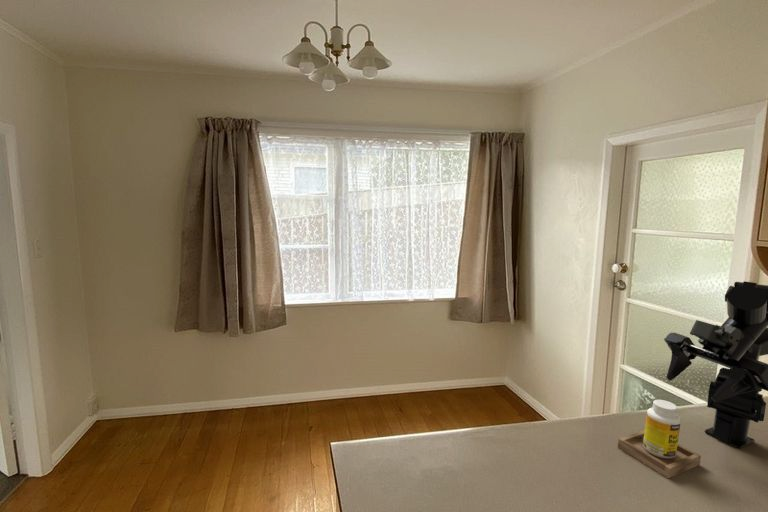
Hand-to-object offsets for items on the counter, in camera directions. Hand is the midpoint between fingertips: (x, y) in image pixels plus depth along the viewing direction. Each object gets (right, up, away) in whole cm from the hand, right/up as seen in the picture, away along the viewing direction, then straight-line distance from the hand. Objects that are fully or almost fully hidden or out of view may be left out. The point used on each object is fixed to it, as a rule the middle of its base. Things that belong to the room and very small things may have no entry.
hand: (689, 389), depth 80 cm
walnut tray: (-7, -14, 0) cm, 15 cm away
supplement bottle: (-6, -13, 0) cm, 14 cm away
